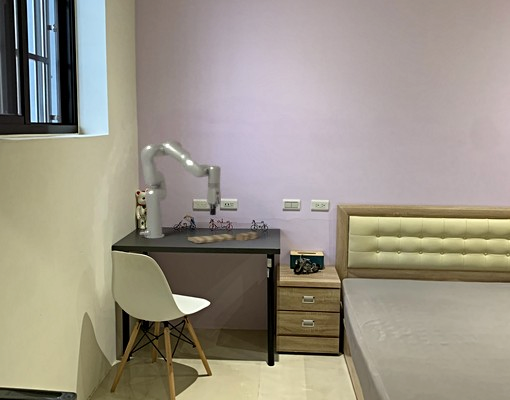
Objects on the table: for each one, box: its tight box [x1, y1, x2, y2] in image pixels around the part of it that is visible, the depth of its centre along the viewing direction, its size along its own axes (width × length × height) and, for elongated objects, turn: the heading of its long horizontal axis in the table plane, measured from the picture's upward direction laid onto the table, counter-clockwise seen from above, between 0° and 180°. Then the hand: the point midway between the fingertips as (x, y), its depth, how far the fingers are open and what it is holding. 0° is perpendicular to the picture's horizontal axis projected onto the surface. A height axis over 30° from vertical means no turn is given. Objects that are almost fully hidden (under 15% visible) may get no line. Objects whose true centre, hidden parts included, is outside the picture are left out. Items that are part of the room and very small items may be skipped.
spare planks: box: [235, 231, 259, 242], centre depth 367 cm, size 15×7×3 cm, turn 134°
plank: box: [187, 235, 218, 244], centre depth 357 cm, size 14×12×2 cm
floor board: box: [208, 233, 237, 243], centre depth 365 cm, size 14×12×2 cm
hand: (212, 214), depth 358 cm, fingers closed
